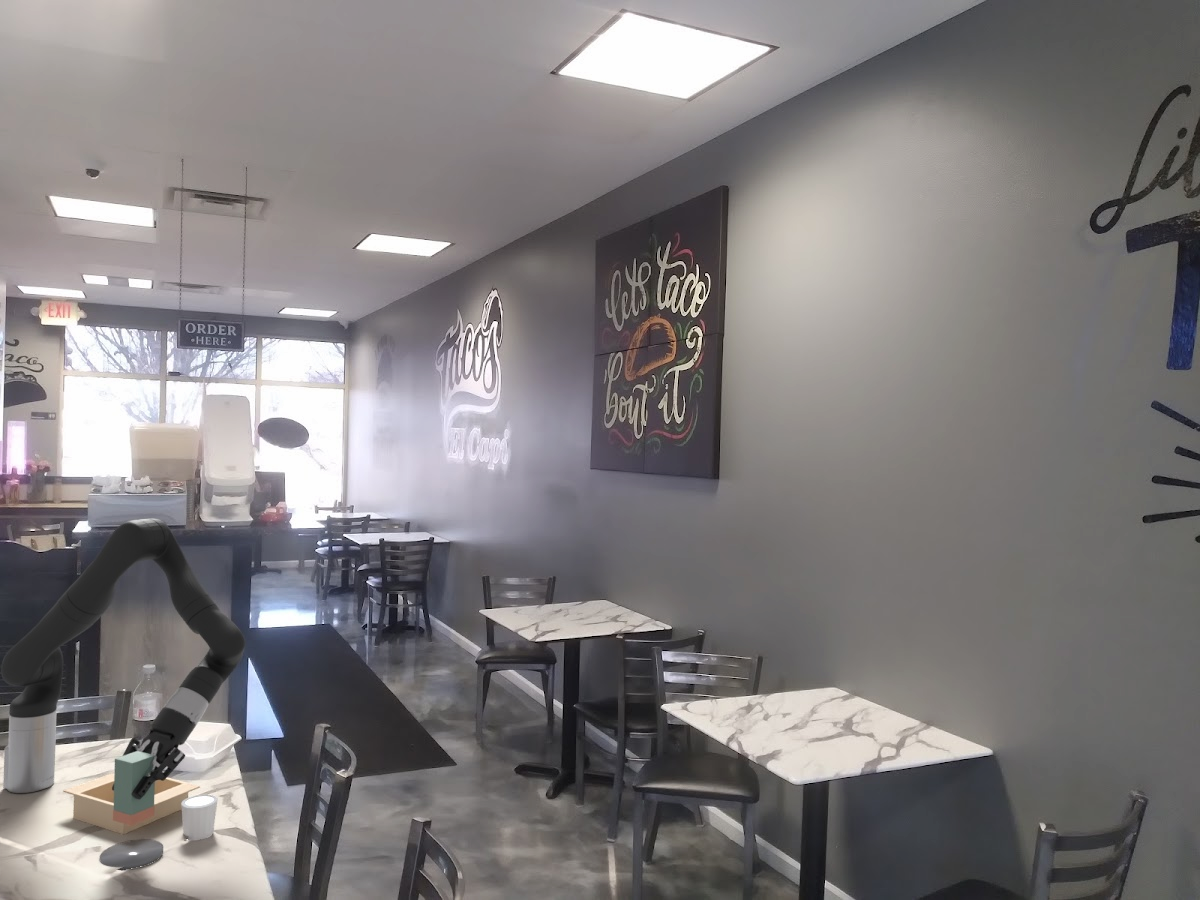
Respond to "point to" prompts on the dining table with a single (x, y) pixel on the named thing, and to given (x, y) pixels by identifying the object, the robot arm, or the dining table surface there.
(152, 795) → the box
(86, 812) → the carton
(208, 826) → the white cup
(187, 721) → the robot arm
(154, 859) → the slate plate
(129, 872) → the dining table surface
